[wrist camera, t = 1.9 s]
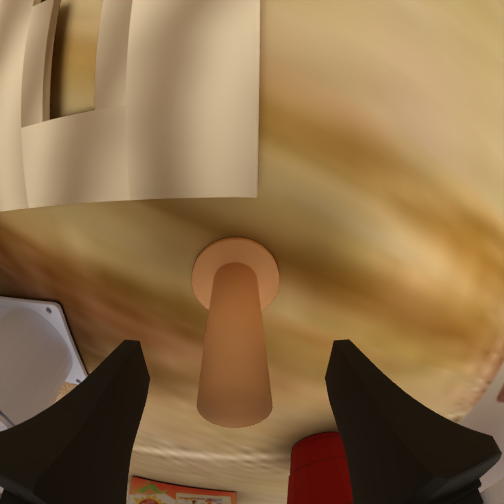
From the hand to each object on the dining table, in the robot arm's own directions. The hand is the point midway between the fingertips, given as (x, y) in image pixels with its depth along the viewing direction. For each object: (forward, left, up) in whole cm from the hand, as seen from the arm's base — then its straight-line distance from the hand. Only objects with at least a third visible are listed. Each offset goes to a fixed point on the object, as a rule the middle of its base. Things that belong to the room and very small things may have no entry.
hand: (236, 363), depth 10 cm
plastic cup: (+8, -20, -7) cm, 23 cm away
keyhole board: (-8, +16, -7) cm, 19 cm away
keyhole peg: (0, 0, -7) cm, 7 cm away
